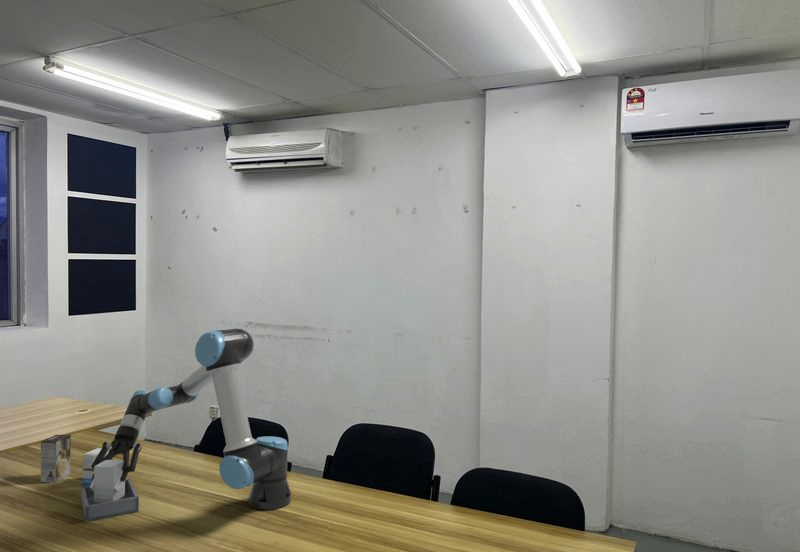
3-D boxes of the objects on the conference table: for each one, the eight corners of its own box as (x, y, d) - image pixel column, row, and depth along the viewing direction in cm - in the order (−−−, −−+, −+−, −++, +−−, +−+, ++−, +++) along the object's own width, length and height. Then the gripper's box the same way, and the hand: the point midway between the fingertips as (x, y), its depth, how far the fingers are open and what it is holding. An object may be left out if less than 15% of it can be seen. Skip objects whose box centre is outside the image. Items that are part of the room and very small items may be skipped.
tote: (138, 511, 191) (138, 497, 191) (85, 522, 182) (85, 507, 182) (130, 491, 208) (130, 478, 208) (80, 500, 199) (81, 486, 199)
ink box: (92, 485, 213) (93, 455, 213) (81, 484, 214) (82, 454, 214) (108, 477, 221) (109, 448, 221) (97, 476, 222) (98, 447, 222)
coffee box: (54, 473, 224) (55, 434, 224) (70, 474, 224) (71, 434, 224) (39, 482, 215) (40, 440, 215) (56, 482, 215) (56, 441, 215)
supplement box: (125, 495, 198) (126, 460, 198) (112, 503, 191) (113, 467, 191) (105, 493, 199) (106, 458, 199) (92, 502, 192) (93, 466, 192)
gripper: (159, 435, 210) (136, 495, 194) (106, 433, 211) (79, 493, 195) (152, 425, 205) (129, 486, 189) (98, 423, 205) (70, 483, 189)
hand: (104, 489), depth 192 cm, fingers closed on supplement box, 7 cm apart
